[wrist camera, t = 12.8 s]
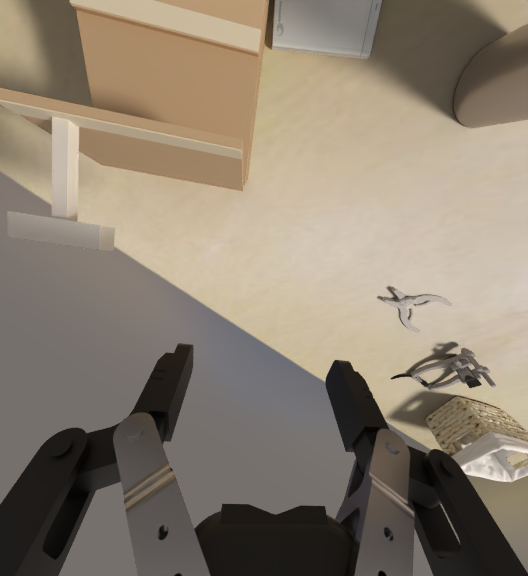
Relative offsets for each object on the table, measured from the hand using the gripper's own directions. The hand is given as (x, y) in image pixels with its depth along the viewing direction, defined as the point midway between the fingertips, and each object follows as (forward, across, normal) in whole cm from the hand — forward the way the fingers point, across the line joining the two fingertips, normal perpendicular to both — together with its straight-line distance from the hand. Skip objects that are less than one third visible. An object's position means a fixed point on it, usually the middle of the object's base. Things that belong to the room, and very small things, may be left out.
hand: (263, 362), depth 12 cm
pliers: (+31, -36, +12) cm, 49 cm away
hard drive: (+31, -4, -27) cm, 41 cm away
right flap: (+15, +11, -9) cm, 21 cm away
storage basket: (+30, -76, +49) cm, 96 cm away
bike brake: (+31, -55, +31) cm, 70 cm away
